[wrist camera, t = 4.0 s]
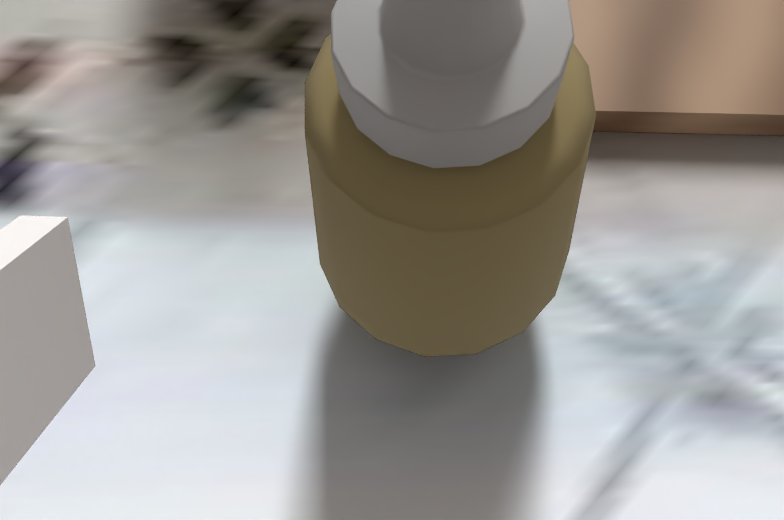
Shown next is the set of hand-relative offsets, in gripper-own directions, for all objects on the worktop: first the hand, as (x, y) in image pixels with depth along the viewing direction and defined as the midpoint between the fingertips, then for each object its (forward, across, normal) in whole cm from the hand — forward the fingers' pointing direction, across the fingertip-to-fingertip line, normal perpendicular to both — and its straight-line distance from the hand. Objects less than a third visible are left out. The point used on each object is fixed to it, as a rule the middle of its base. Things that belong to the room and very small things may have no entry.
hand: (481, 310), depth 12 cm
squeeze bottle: (+15, -1, -6) cm, 16 cm away
